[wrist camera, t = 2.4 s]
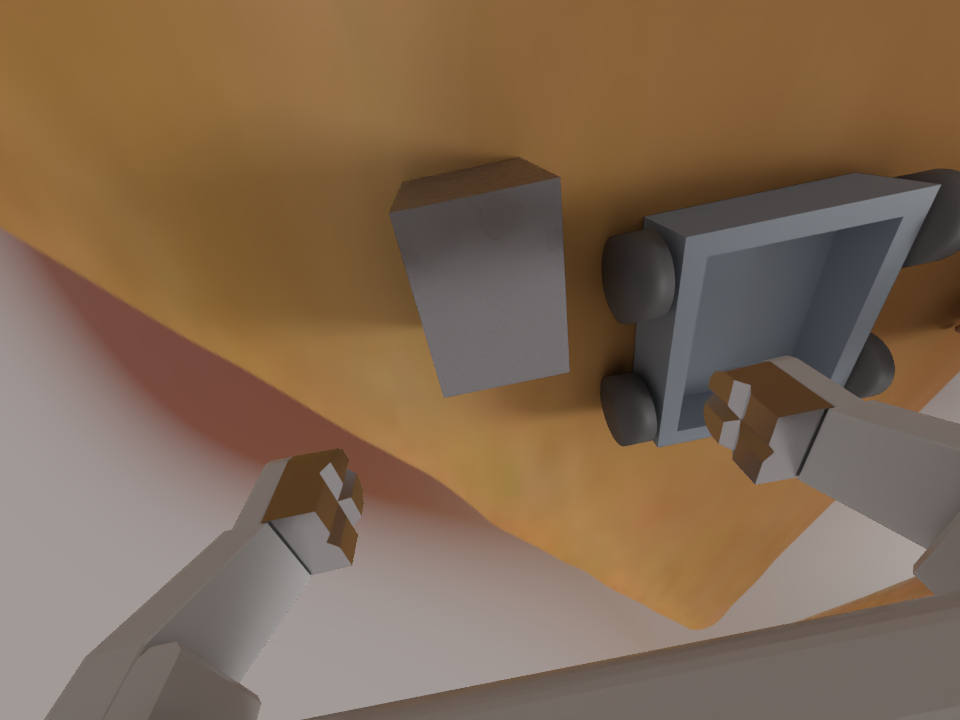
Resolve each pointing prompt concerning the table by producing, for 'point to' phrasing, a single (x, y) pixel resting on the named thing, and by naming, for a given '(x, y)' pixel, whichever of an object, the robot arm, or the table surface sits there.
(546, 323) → the grey rectangular cuboid
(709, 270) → the chassis
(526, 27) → the table surface
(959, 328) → the alarm clock
